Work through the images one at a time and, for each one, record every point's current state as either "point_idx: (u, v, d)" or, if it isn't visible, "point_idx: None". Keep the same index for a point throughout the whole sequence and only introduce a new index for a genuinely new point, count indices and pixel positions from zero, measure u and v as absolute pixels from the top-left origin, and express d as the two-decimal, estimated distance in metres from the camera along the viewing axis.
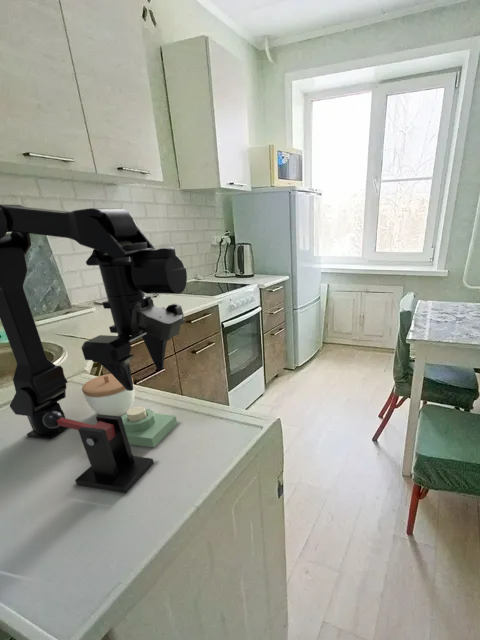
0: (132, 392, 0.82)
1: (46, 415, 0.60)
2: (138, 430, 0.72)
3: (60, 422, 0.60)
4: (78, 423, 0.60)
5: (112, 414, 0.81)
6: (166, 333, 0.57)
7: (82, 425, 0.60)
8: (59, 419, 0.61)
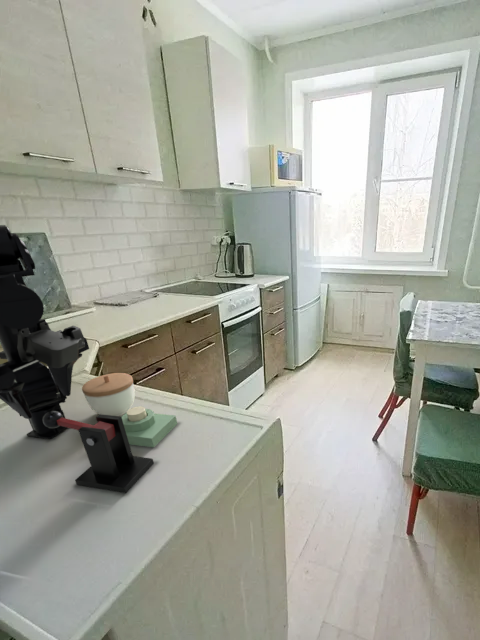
0: (132, 392, 0.82)
1: (46, 415, 0.60)
2: (138, 430, 0.72)
3: (60, 422, 0.60)
4: (78, 423, 0.60)
5: (112, 414, 0.81)
6: (56, 361, 0.52)
7: (82, 425, 0.60)
8: (59, 419, 0.61)
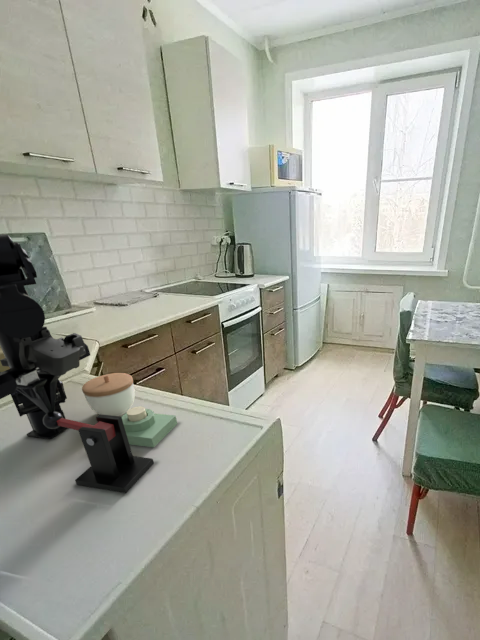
0: (132, 392, 0.82)
1: (46, 416, 0.60)
2: (138, 430, 0.72)
3: (60, 422, 0.60)
4: (78, 423, 0.60)
5: (112, 414, 0.81)
6: (57, 368, 0.53)
7: (82, 425, 0.60)
8: (59, 419, 0.61)
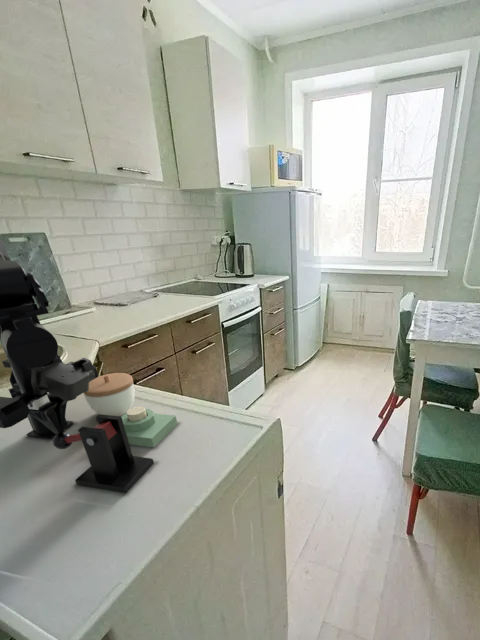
0: (132, 392, 0.82)
1: (54, 437, 0.62)
2: (138, 430, 0.72)
3: (67, 439, 0.62)
4: None
5: (112, 414, 0.81)
6: (68, 394, 0.55)
7: None
8: (66, 437, 0.62)
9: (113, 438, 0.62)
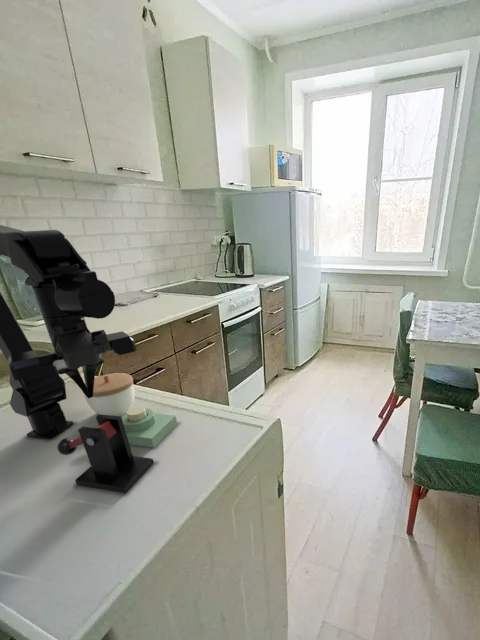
0: (132, 392, 0.82)
1: (58, 443, 0.62)
2: (138, 430, 0.72)
3: (70, 444, 0.62)
4: None
5: (112, 414, 0.81)
6: (68, 363, 0.54)
7: None
8: (70, 442, 0.62)
9: (113, 438, 0.62)
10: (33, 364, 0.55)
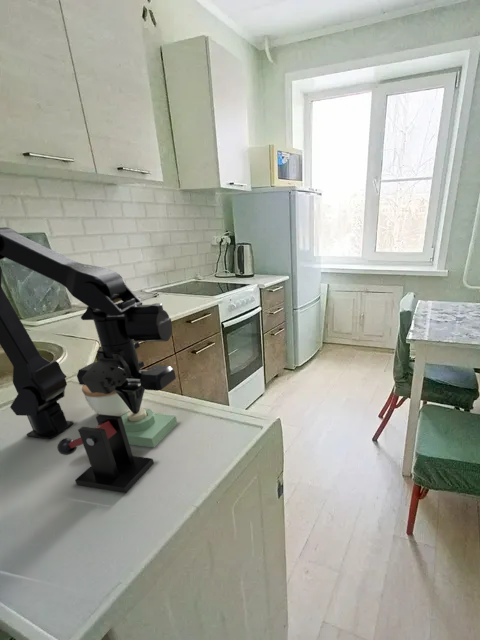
0: None
1: (58, 443, 0.62)
2: (138, 430, 0.72)
3: (70, 444, 0.62)
4: None
5: (112, 414, 0.81)
6: (87, 386, 0.63)
7: None
8: (70, 442, 0.62)
9: (113, 438, 0.62)
10: None
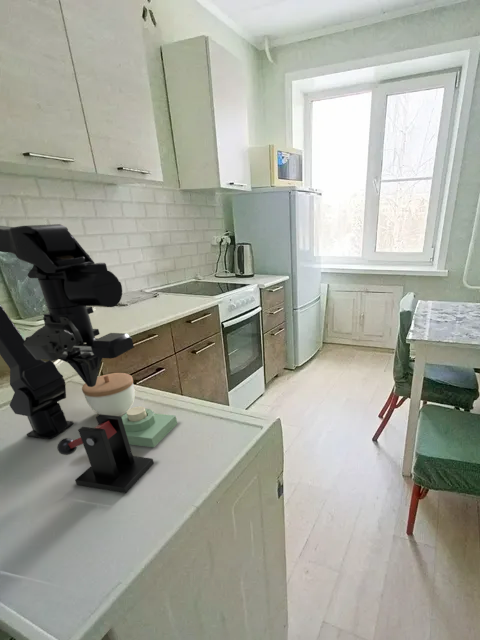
0: (132, 392, 0.82)
1: (58, 443, 0.62)
2: (138, 430, 0.72)
3: (70, 444, 0.62)
4: None
5: (112, 414, 0.81)
6: None
7: None
8: (70, 442, 0.62)
9: (113, 438, 0.62)
10: None
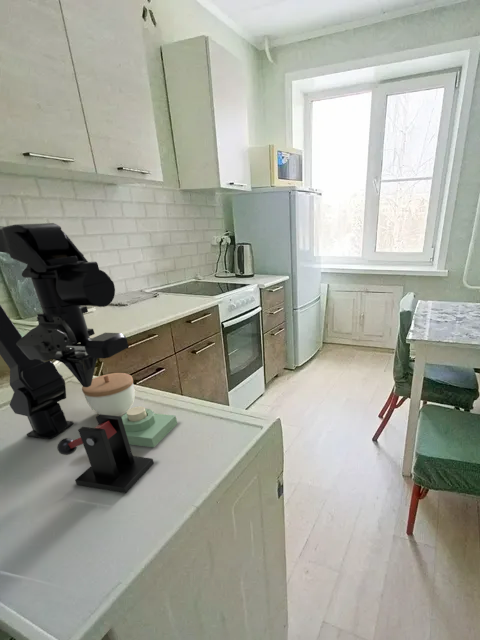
0: (132, 392, 0.82)
1: (58, 443, 0.62)
2: (138, 430, 0.72)
3: (70, 444, 0.62)
4: None
5: (112, 414, 0.81)
6: None
7: None
8: (70, 442, 0.62)
9: (113, 438, 0.62)
10: None
